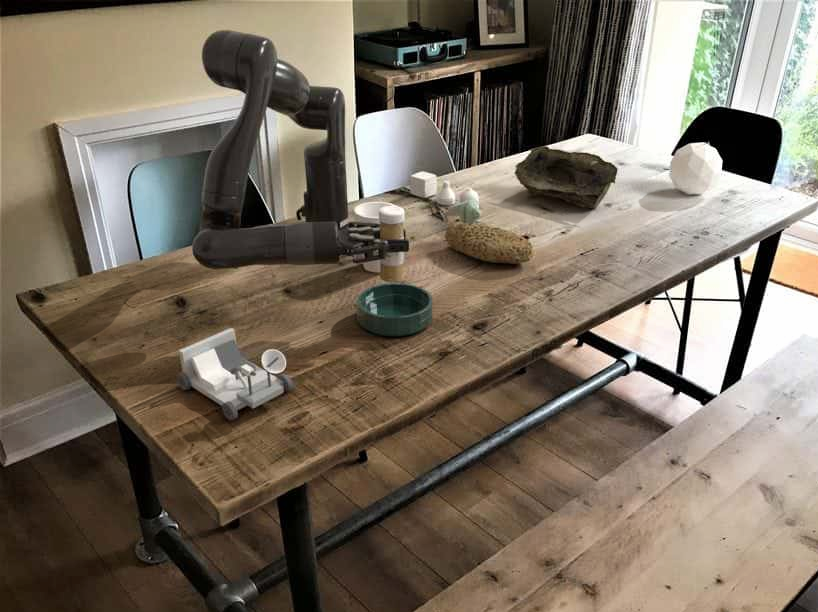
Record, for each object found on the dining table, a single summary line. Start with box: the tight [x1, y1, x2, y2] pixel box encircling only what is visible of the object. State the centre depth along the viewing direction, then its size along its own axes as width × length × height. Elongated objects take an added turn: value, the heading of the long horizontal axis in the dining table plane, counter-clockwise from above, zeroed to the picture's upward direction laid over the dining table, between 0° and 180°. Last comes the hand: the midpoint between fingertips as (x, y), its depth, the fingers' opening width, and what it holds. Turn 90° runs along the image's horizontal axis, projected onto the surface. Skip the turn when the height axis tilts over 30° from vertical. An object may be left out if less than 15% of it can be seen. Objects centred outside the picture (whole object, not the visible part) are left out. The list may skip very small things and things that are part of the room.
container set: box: [409, 171, 480, 209], centre depth 205 cm, size 20×5×6 cm, turn 54°
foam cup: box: [353, 201, 397, 273], centre depth 168 cm, size 10×9×13 cm
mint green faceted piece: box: [452, 200, 483, 224], centre depth 191 cm, size 8×4×7 cm, turn 56°
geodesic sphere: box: [669, 141, 723, 195], centre depth 215 cm, size 15×14×14 cm
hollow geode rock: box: [514, 145, 619, 210], centre depth 207 cm, size 28×13×15 cm
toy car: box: [175, 327, 293, 422], centre depth 126 cm, size 18×10×12 cm
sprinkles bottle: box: [379, 205, 406, 283], centre depth 143 cm, size 5×5×13 cm
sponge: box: [444, 221, 535, 264], centre depth 176 cm, size 13×8×20 cm
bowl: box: [356, 282, 434, 337], centre depth 150 cm, size 14×14×4 cm
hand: (406, 239), depth 143 cm, fingers closed on sprinkles bottle, 4 cm apart
